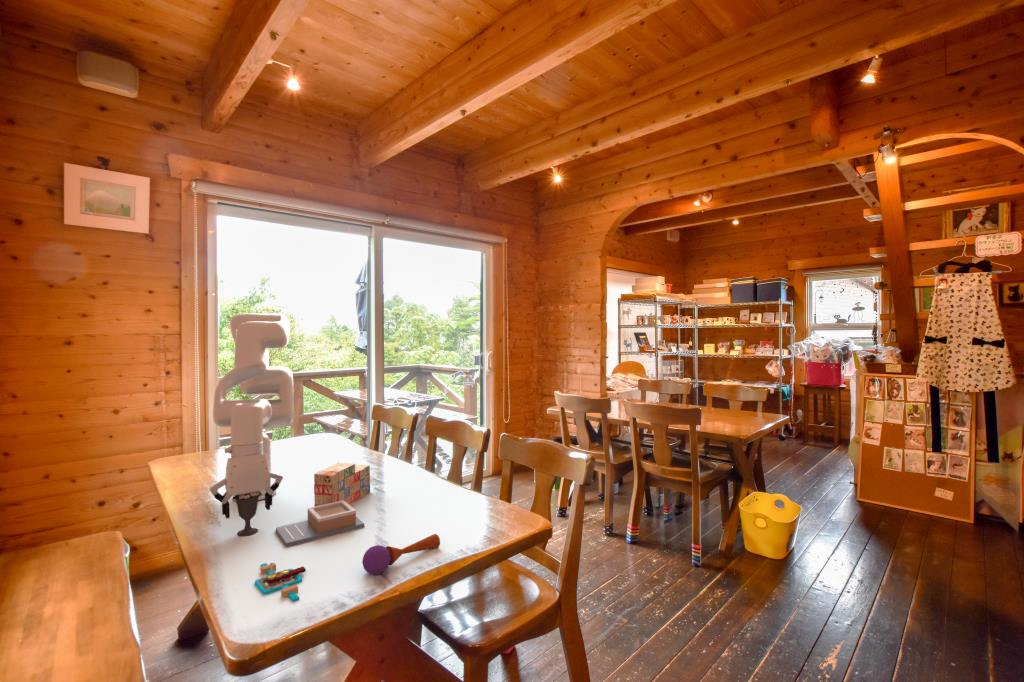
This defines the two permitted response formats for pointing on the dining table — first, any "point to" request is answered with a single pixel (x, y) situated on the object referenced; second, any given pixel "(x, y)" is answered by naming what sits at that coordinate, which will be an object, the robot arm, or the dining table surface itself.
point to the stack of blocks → (341, 483)
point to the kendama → (394, 554)
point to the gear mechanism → (276, 579)
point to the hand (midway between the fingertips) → (247, 512)
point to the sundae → (247, 511)
